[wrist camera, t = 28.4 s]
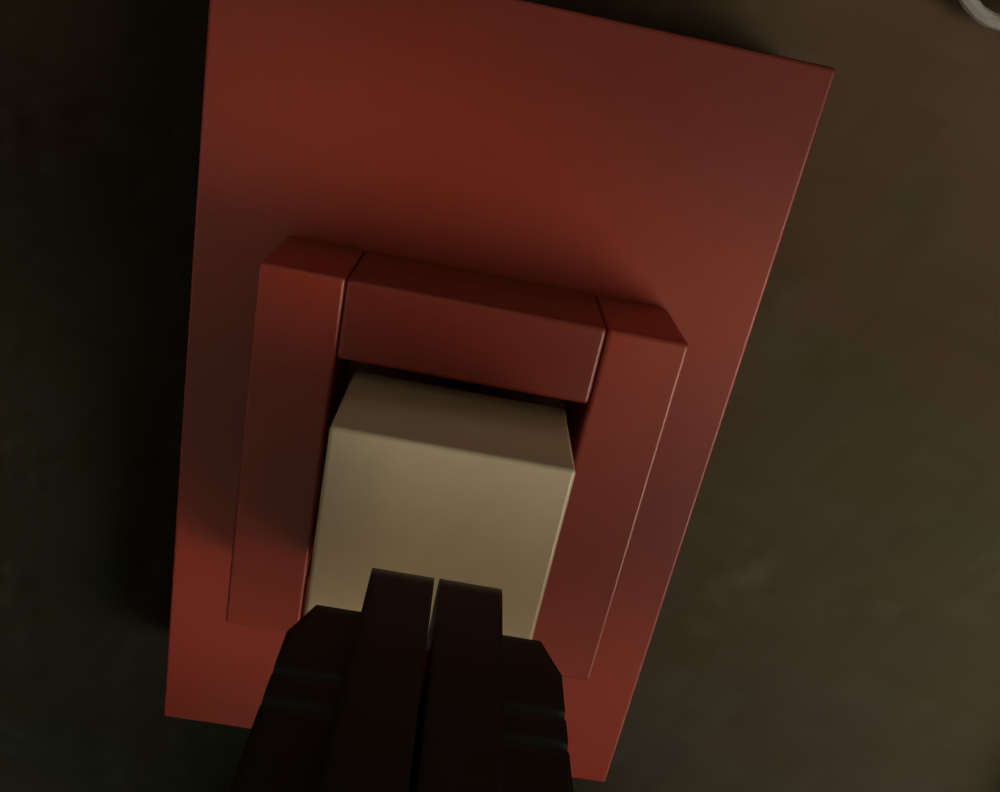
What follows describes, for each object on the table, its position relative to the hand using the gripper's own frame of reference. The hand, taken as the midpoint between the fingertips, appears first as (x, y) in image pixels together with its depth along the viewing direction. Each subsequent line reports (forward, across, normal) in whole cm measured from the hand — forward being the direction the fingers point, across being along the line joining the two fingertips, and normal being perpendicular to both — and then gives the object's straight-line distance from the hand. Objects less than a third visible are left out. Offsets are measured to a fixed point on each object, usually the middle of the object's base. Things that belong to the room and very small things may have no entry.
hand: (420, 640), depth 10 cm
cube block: (+4, 0, 0) cm, 4 cm away
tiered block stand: (+7, 0, 0) cm, 7 cm away
